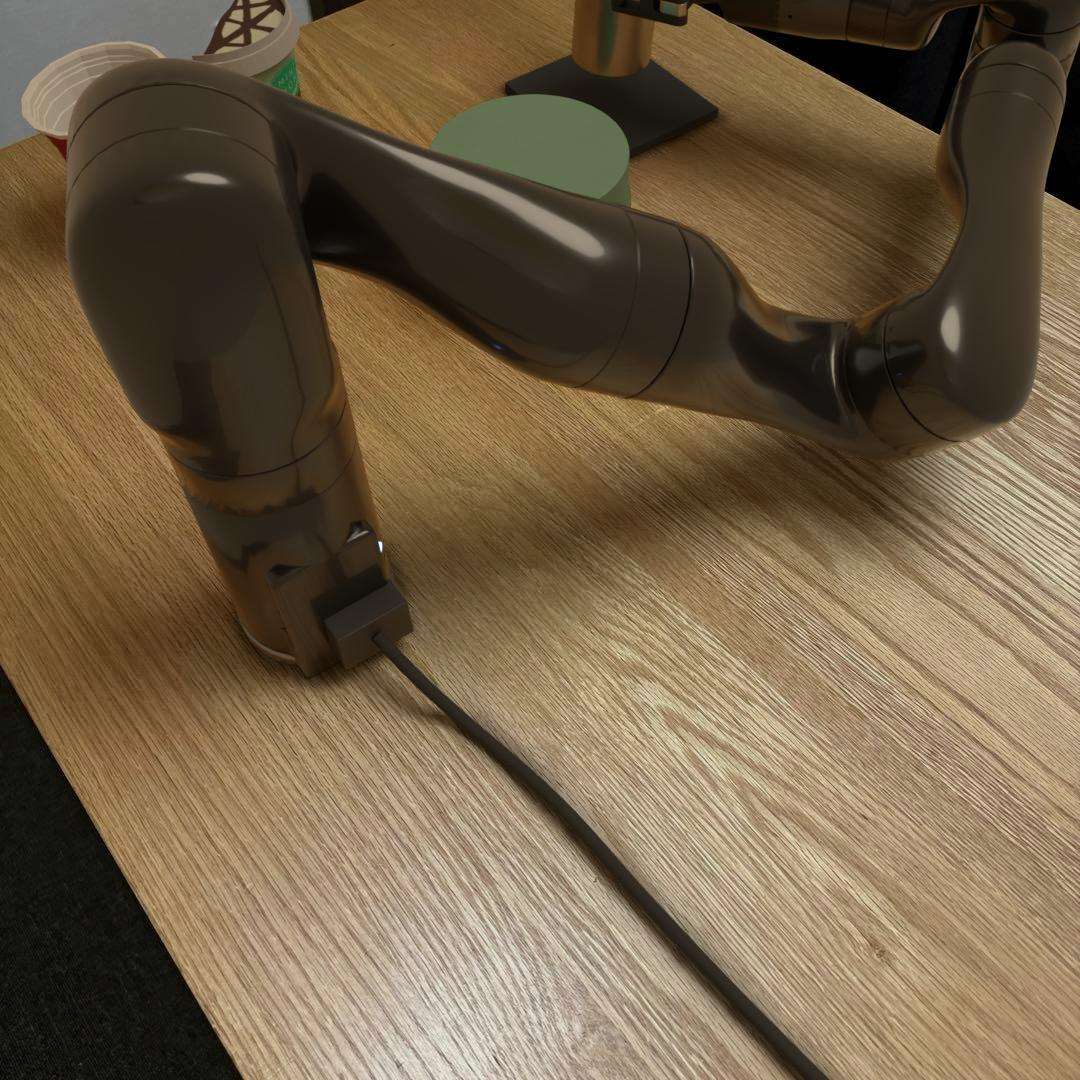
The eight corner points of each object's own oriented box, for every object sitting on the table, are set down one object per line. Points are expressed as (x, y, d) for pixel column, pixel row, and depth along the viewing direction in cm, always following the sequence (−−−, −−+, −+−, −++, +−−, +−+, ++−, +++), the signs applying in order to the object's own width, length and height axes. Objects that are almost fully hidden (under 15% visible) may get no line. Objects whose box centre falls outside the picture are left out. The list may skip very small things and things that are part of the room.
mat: (718, 116, 99) (718, 108, 98) (601, 171, 95) (601, 163, 94) (617, 42, 106) (617, 34, 105) (504, 90, 102) (504, 82, 102)
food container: (295, 177, 96) (268, 63, 88) (222, 172, 97) (189, 59, 89) (334, 88, 103) (312, -24, 95) (266, 84, 104) (239, -28, 96)
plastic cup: (61, 202, 95) (0, 66, 86) (190, 160, 98) (146, 23, 88) (96, 282, 90) (35, 145, 80) (232, 235, 92) (190, 97, 82)
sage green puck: (676, 268, 88) (683, 165, 81) (504, 356, 83) (496, 255, 76) (558, 167, 96) (555, 64, 88) (395, 242, 91) (378, 140, 84)
